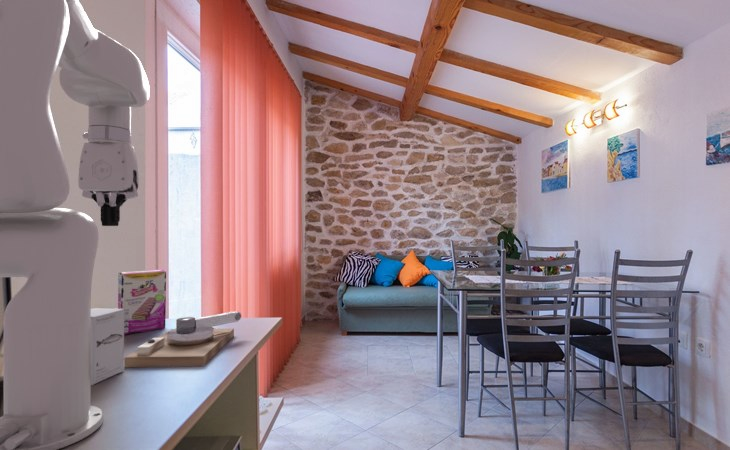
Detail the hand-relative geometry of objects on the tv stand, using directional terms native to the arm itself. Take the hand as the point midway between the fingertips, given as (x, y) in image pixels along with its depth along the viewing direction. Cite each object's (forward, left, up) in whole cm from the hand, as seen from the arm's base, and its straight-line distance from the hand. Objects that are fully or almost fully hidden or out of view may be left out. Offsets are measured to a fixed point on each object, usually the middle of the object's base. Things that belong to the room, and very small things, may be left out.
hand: (110, 225), depth 83 cm
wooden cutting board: (+9, -12, -29) cm, 33 cm away
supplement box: (-7, -1, -29) cm, 30 cm away
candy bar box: (+27, +7, -29) cm, 40 cm away
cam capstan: (+13, -16, -27) cm, 34 cm away
